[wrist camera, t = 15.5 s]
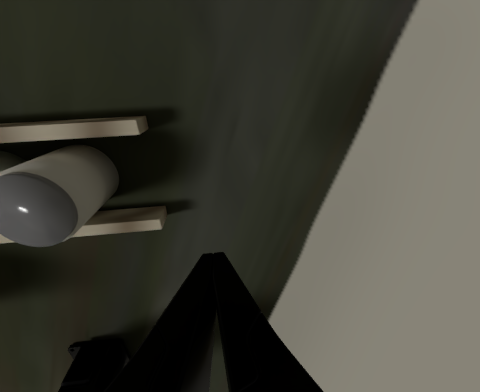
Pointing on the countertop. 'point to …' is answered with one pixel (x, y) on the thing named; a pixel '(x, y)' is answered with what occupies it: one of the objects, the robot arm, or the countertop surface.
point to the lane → (89, 129)
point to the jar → (54, 194)
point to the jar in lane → (9, 160)
